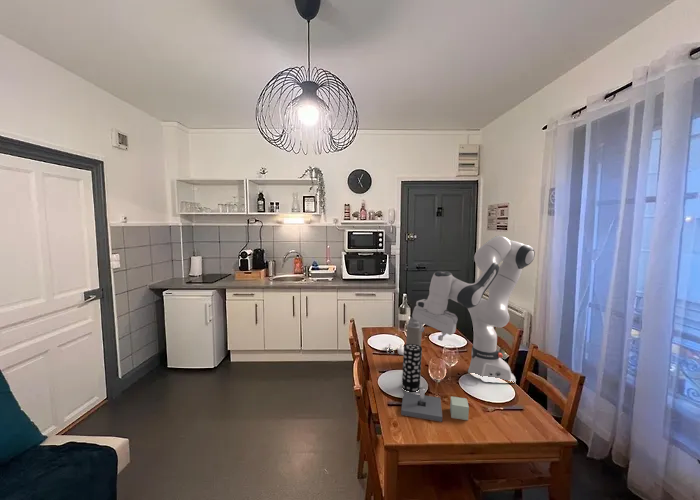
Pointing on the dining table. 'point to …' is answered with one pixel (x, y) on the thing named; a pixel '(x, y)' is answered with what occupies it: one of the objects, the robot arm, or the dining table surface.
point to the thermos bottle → (413, 332)
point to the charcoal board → (421, 407)
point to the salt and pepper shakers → (400, 349)
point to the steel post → (422, 396)
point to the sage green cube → (459, 408)
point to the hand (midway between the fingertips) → (430, 335)
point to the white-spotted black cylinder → (411, 367)
